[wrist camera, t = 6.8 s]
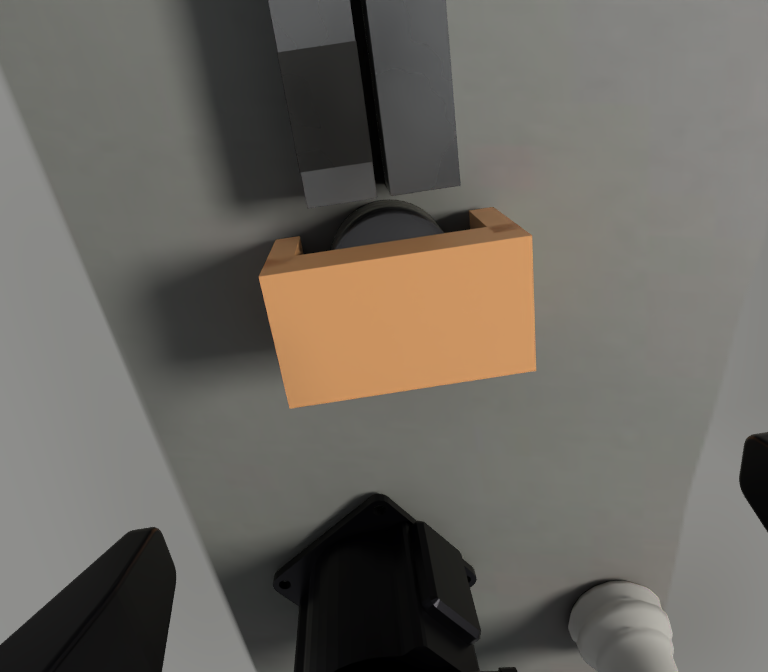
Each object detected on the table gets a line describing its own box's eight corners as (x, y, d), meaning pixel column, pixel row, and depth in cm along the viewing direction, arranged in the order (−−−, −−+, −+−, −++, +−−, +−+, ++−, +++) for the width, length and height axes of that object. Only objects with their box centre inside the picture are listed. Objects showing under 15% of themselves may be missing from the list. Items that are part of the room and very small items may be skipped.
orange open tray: (499, 319, 20) (536, 370, 16) (299, 349, 20) (289, 408, 16) (492, 206, 18) (532, 235, 15) (275, 239, 18) (258, 276, 15)
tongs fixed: (457, 303, 20) (471, 329, 18) (340, 321, 20) (340, 349, 18) (416, -155, 15) (429, -199, 13) (259, -133, 15) (244, -173, 12)
